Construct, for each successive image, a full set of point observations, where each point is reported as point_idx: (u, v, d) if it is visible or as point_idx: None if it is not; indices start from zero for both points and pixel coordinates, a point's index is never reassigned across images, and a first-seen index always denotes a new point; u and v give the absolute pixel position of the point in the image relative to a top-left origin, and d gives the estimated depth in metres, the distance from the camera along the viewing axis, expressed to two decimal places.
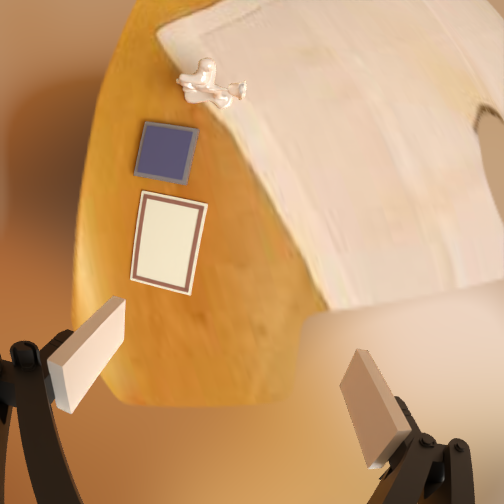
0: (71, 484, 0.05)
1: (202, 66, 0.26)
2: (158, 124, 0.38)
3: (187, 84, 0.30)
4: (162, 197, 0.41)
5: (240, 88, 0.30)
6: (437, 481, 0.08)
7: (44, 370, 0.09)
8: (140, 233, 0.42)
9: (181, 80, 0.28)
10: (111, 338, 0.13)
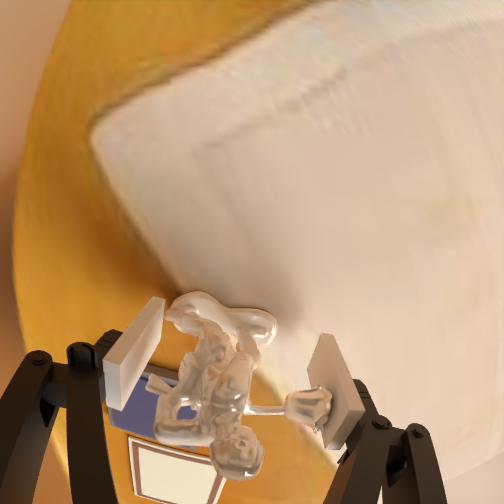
0: (112, 485, 0.05)
1: None
2: None
3: (178, 409, 0.11)
4: (161, 450, 0.22)
5: (317, 422, 0.12)
6: (400, 468, 0.09)
7: (98, 370, 0.10)
8: (138, 470, 0.24)
9: None
10: (153, 337, 0.15)
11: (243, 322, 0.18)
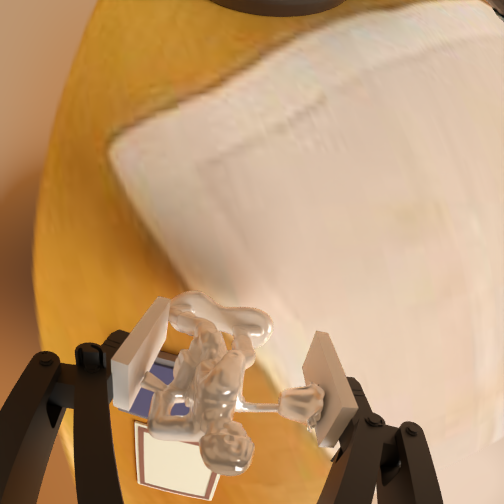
0: (118, 486, 0.05)
1: None
2: None
3: None
4: None
5: (311, 419, 0.12)
6: (394, 466, 0.09)
7: None
8: (142, 456, 0.26)
9: None
10: (159, 337, 0.15)
11: (239, 320, 0.19)
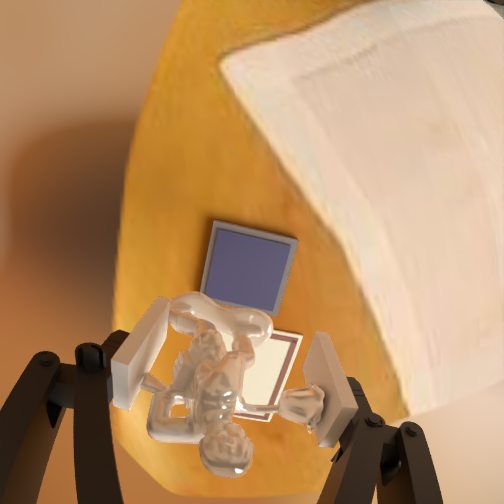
0: (118, 486, 0.05)
1: (215, 474, 0.07)
2: (235, 228, 0.27)
3: (172, 407, 0.12)
4: None
5: (311, 421, 0.12)
6: (394, 466, 0.09)
7: None
8: None
9: None
10: (159, 337, 0.15)
11: (238, 321, 0.19)
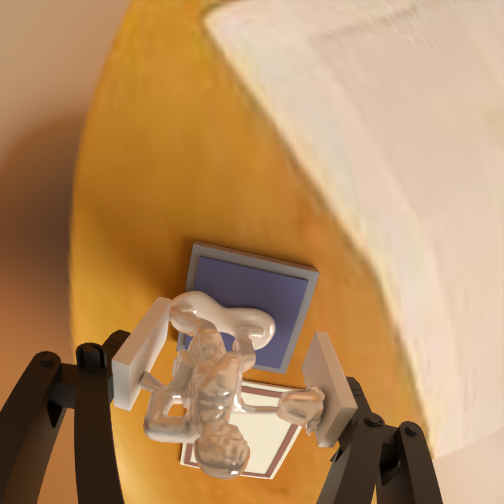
0: (118, 486, 0.05)
1: (209, 475, 0.07)
2: (226, 255, 0.18)
3: (170, 406, 0.11)
4: None
5: (310, 423, 0.12)
6: (393, 466, 0.09)
7: (106, 370, 0.10)
8: None
9: None
10: (159, 337, 0.15)
11: (240, 321, 0.18)
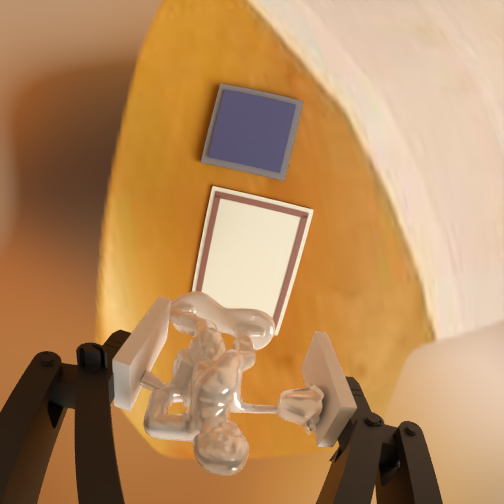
0: (119, 486, 0.05)
1: None
2: (241, 89, 0.25)
3: None
4: (245, 197, 0.28)
5: (309, 421, 0.12)
6: (393, 466, 0.09)
7: None
8: (207, 249, 0.30)
9: None
10: (160, 337, 0.15)
11: (240, 321, 0.19)
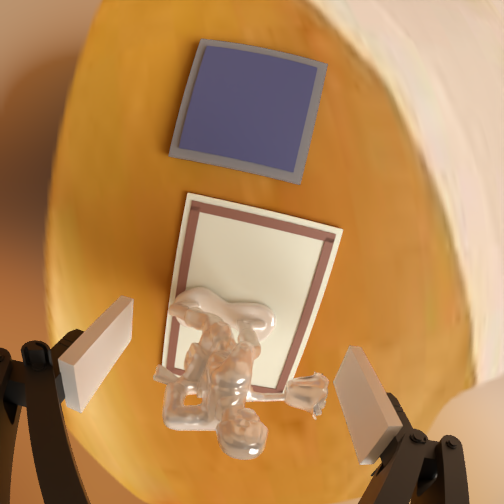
0: (79, 484, 0.05)
1: (232, 457, 0.08)
2: (233, 45, 0.15)
3: None
4: (238, 211, 0.18)
5: (316, 407, 0.13)
6: (430, 478, 0.08)
7: (55, 369, 0.09)
8: (183, 288, 0.20)
9: None
10: (119, 337, 0.14)
11: (243, 315, 0.19)
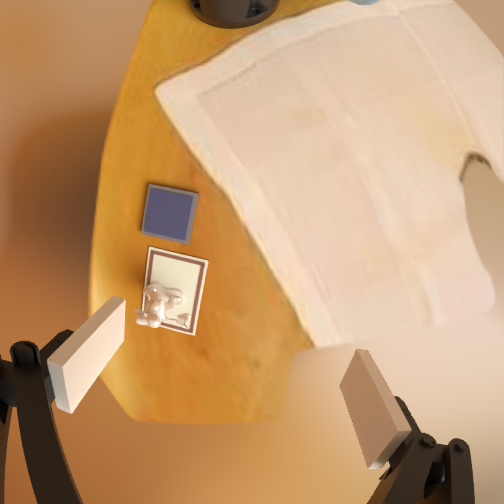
0: (71, 484, 0.05)
1: (150, 326, 0.37)
2: (161, 187, 0.44)
3: (144, 317, 0.41)
4: (167, 253, 0.47)
5: (184, 323, 0.41)
6: (437, 481, 0.08)
7: (44, 370, 0.09)
8: (149, 283, 0.48)
9: (138, 323, 0.39)
10: (111, 338, 0.13)
11: (171, 294, 0.48)
